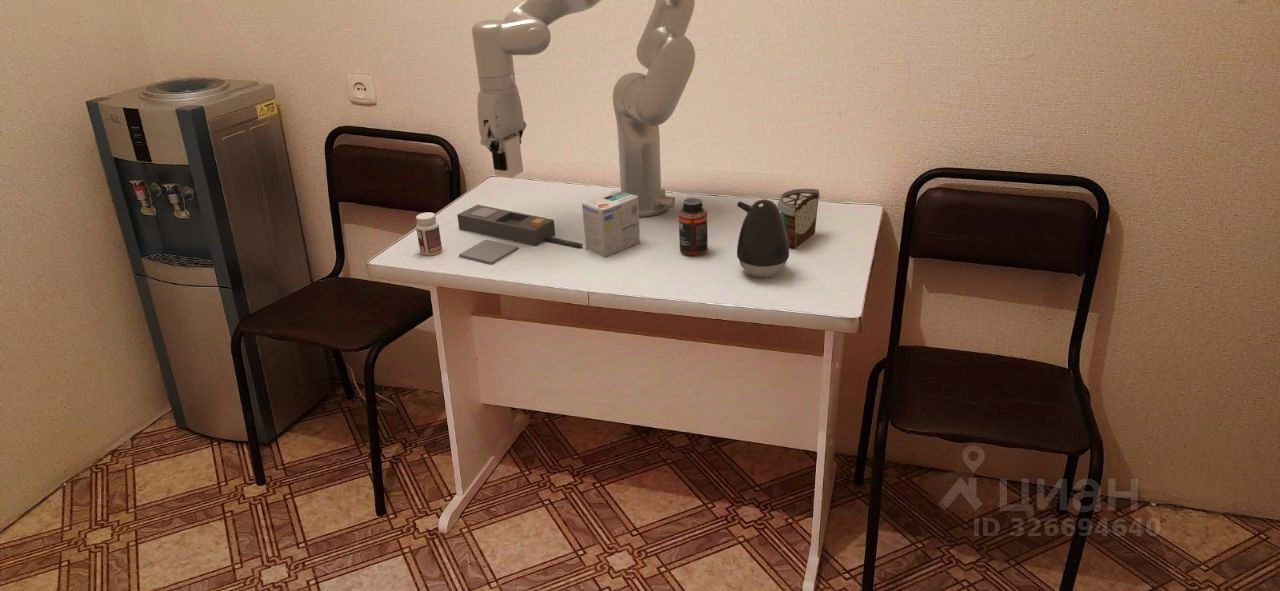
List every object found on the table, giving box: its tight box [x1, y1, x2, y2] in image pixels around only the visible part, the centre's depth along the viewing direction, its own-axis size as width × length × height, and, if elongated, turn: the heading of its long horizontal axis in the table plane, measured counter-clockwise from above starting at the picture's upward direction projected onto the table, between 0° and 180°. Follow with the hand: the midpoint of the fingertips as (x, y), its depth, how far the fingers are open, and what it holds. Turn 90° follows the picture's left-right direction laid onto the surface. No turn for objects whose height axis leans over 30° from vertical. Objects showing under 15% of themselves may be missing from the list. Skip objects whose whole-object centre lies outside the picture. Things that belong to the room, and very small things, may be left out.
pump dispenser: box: [736, 199, 790, 278], centre depth 176 cm, size 10×10×15 cm
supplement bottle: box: [678, 197, 709, 257], centre depth 187 cm, size 6×6×11 cm
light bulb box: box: [581, 189, 641, 258], centre depth 192 cm, size 11×7×11 cm, turn 134°
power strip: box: [456, 204, 584, 249], centre depth 200 cm, size 32×7×4 cm, turn 59°
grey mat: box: [458, 239, 519, 265], centre depth 193 cm, size 9×9×1 cm
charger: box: [492, 135, 524, 179], centre depth 195 cm, size 4×4×8 cm
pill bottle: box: [415, 212, 443, 257], centre depth 194 cm, size 5×5×8 cm
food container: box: [776, 188, 821, 250], centre depth 191 cm, size 12×6×10 cm, turn 145°
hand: (508, 165), depth 196 cm, fingers closed on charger, 4 cm apart
